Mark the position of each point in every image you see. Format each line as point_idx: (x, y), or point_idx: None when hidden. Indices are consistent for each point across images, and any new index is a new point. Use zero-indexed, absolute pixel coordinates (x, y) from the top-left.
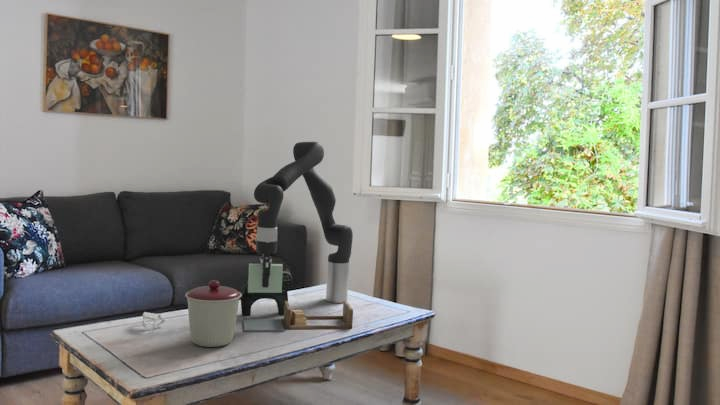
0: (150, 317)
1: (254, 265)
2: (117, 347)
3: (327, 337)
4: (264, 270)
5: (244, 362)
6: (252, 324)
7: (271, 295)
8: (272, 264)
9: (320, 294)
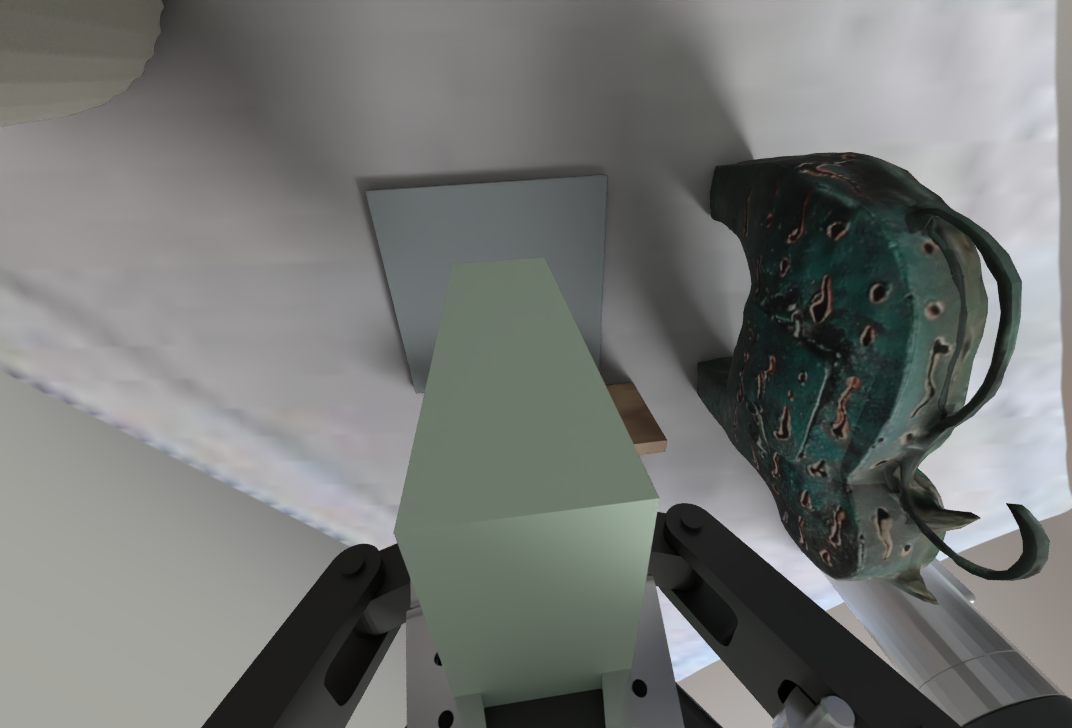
0: None
1: (429, 611)
2: None
3: (367, 524)
4: (250, 684)
5: None
6: (495, 237)
7: (737, 385)
8: None
9: (953, 492)
